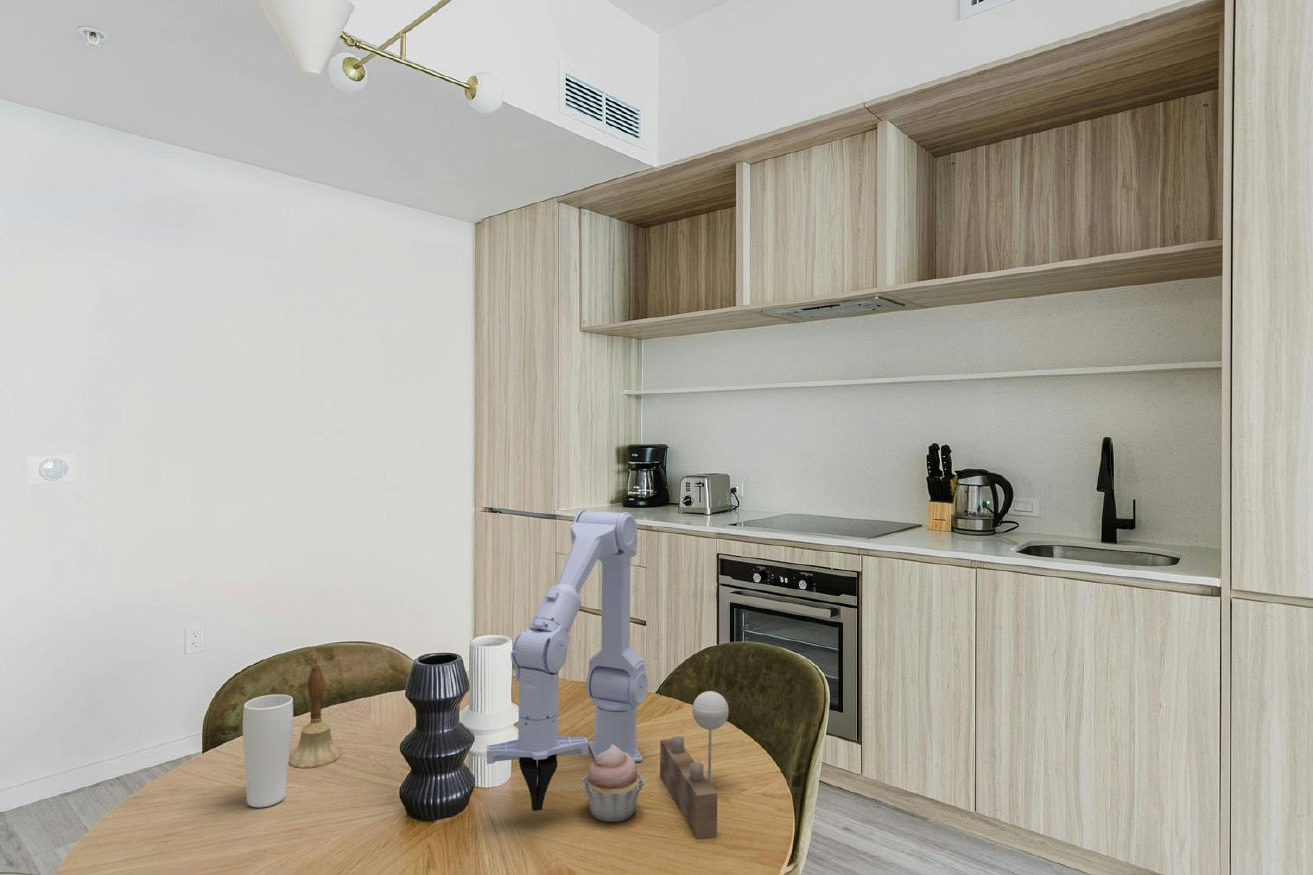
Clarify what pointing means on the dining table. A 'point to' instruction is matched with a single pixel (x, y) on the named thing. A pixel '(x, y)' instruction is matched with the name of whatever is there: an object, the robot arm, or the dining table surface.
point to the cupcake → (612, 785)
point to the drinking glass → (267, 748)
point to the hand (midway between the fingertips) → (536, 807)
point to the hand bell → (315, 731)
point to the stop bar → (689, 787)
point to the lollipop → (710, 715)
